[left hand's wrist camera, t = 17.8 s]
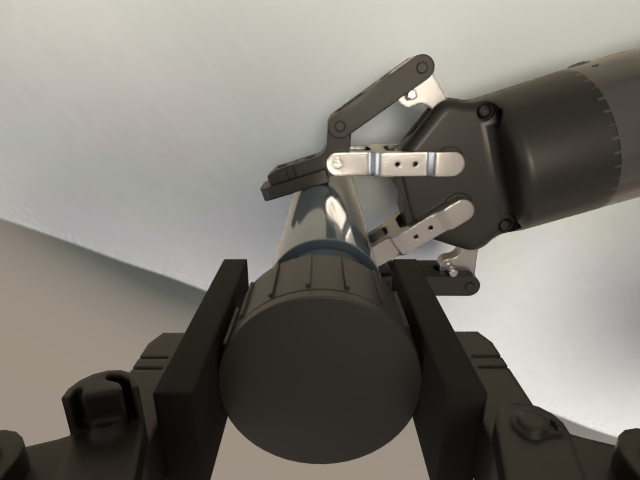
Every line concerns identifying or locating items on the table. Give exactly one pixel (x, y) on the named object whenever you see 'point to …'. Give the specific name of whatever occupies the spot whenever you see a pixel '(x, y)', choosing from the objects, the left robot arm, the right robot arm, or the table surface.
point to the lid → (320, 362)
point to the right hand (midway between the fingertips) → (280, 230)
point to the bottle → (326, 225)
